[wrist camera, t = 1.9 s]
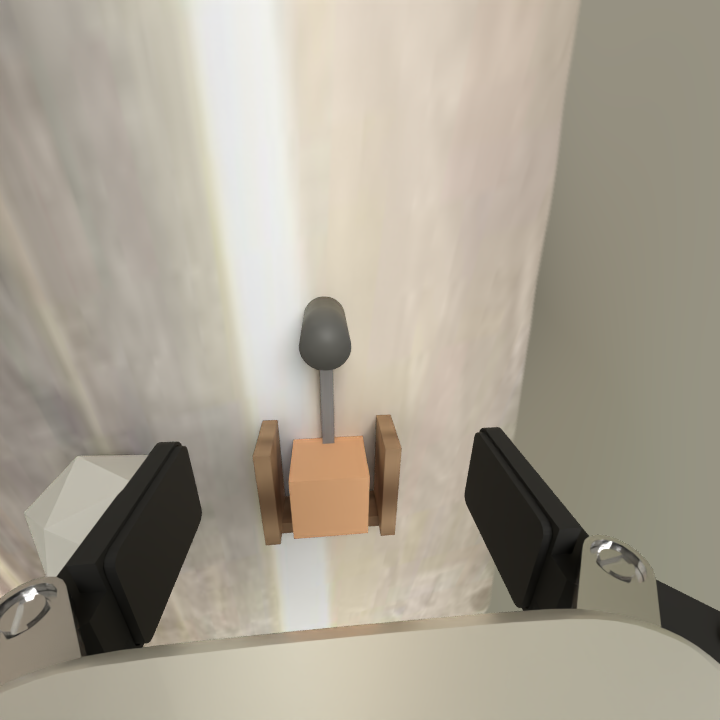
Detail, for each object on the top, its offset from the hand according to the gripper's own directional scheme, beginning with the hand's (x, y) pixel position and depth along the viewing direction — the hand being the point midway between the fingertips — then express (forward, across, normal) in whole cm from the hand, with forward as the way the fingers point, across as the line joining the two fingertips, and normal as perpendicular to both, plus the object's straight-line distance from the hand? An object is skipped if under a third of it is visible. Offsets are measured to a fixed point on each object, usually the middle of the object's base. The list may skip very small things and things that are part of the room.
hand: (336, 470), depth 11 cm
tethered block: (+16, 0, +7) cm, 17 cm away
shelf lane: (+16, 0, +13) cm, 20 cm away
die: (+16, +17, +13) cm, 27 cm away
